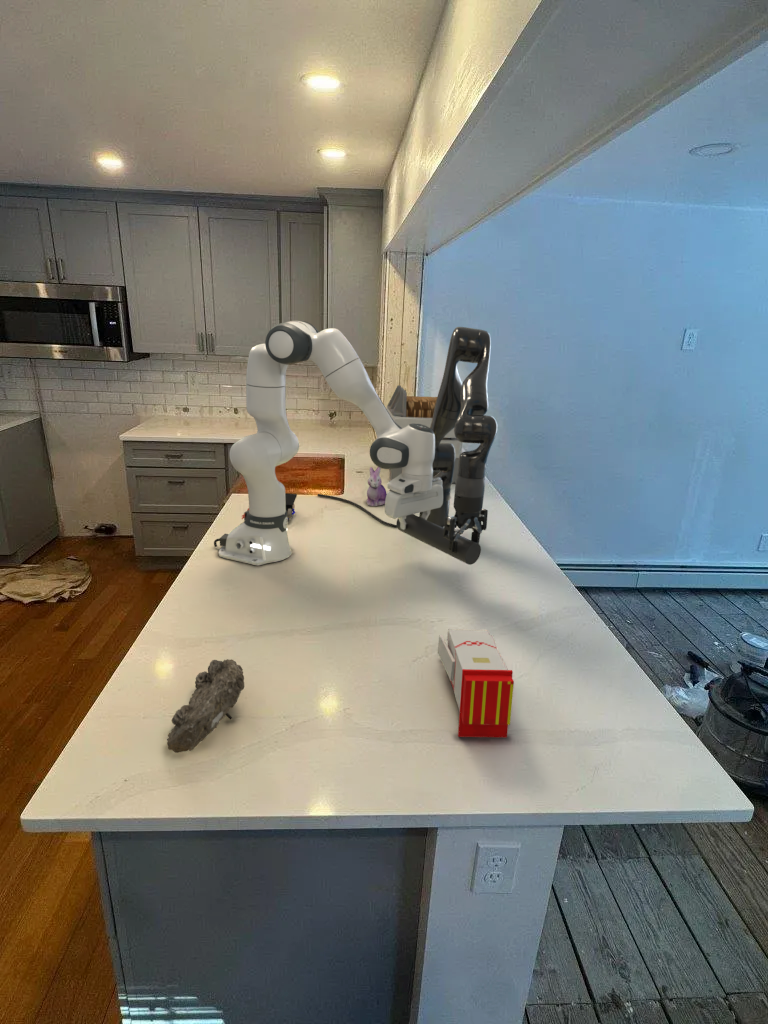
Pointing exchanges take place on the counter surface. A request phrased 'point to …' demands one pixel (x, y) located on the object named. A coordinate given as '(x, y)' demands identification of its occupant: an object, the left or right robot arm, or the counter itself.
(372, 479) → the figurine
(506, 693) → the toy
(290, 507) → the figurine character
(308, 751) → the counter surface
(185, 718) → the fossil
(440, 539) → the rod
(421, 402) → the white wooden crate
